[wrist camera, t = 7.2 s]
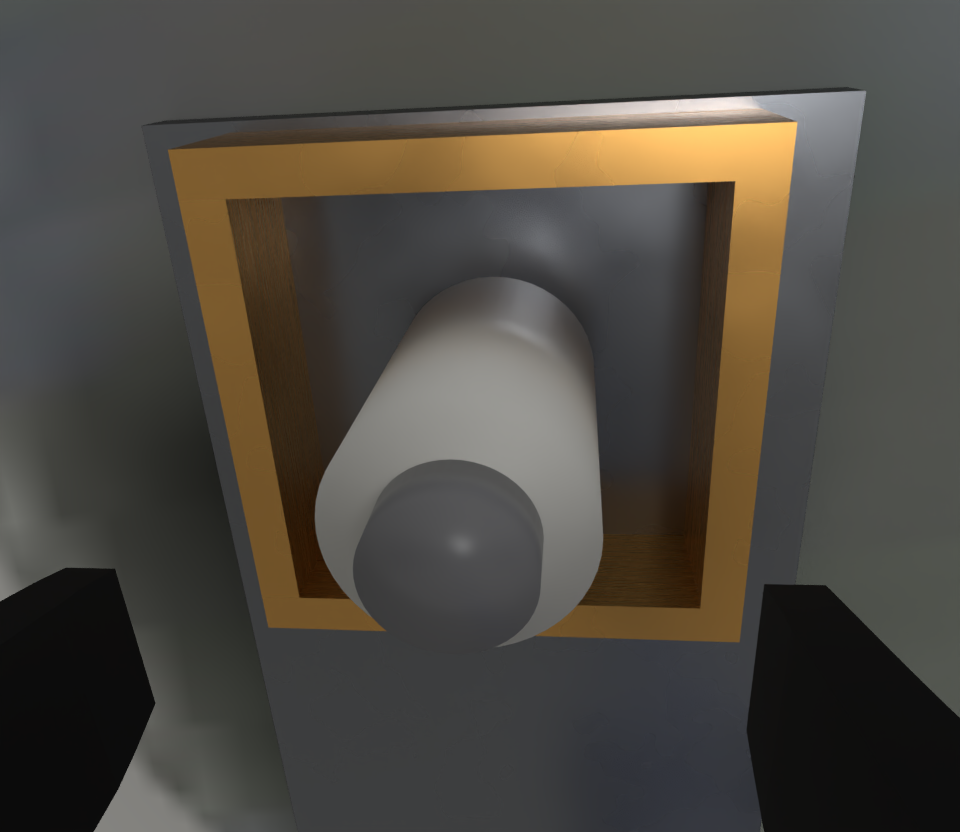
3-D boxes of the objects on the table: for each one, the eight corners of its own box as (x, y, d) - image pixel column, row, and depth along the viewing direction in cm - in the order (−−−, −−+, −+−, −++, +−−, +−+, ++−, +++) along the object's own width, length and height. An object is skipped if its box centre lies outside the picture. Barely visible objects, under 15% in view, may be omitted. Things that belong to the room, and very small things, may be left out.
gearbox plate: (746, 838, 23) (774, 966, 20) (309, 811, 24) (270, 926, 21) (847, 87, 14) (925, 101, 11) (165, 120, 16) (64, 141, 13)
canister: (593, 458, 17) (602, 706, 11) (408, 456, 17) (314, 692, 11) (595, 274, 15) (608, 440, 9) (391, 278, 16) (267, 437, 9)
